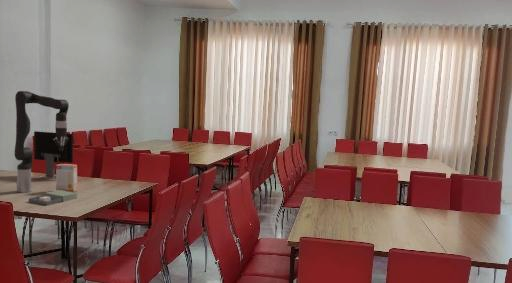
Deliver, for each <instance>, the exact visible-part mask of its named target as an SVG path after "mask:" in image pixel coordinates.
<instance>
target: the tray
mask: <svg viewBox="0 0 512 283" xmlns="http://www.w3.org/2000/svg"><path fill="white" fill-rule="evenodd" d="M44 196H46V195H45V194H43V195H38V196H34V197H29V198H28V203H32V204H38V205H43V206H51V205H55V204H60V203H63V202H62V198H57V197H51V196H47V197H51V201H43V200H39V197H44Z"/></svg>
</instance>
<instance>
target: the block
mask: <svg viewBox="0 0 512 283" xmlns="http://www.w3.org/2000/svg"><path fill="white" fill-rule="evenodd" d="M39 200H43V201H51V197H47V196H44V197H39Z"/></svg>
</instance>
